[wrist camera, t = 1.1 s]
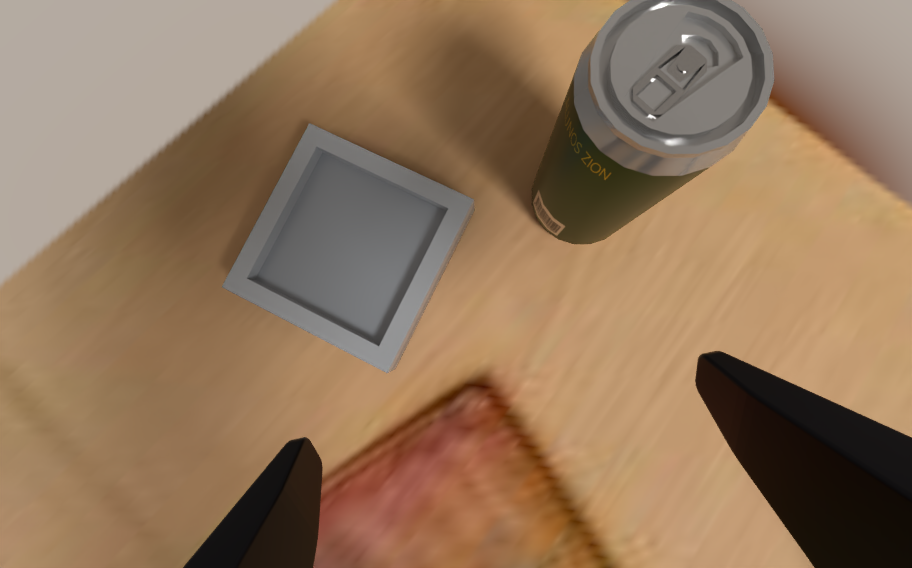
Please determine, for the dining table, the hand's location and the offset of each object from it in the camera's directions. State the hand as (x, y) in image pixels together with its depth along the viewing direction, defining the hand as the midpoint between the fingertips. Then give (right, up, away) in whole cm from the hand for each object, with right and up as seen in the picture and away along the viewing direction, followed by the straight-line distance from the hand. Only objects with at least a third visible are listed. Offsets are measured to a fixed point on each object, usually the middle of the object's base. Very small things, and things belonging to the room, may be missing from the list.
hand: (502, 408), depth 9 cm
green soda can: (+6, +8, +14) cm, 17 cm away
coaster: (-7, +5, +14) cm, 16 cm away
